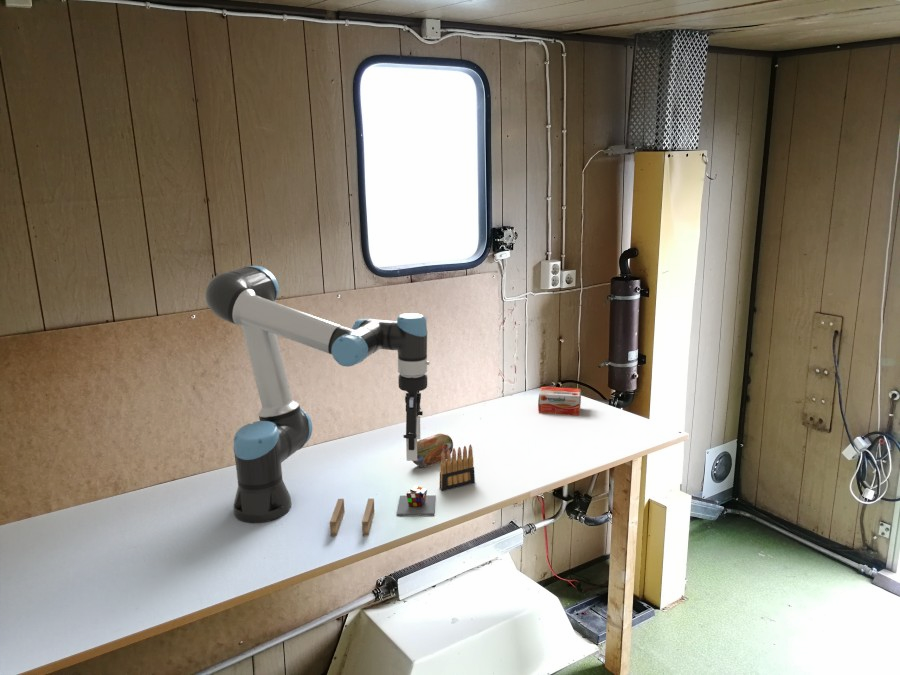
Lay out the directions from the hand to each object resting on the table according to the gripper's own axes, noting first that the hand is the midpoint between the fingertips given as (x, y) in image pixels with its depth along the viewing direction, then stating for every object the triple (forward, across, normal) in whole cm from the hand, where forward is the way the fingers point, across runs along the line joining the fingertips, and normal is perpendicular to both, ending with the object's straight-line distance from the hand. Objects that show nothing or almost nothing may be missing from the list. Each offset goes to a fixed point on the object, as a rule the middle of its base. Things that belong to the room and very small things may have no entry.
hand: (413, 449), depth 183 cm
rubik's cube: (+16, 0, -1) cm, 16 cm away
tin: (+17, +28, -4) cm, 33 cm away
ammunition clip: (+17, +12, -12) cm, 24 cm away
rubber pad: (+17, 0, -1) cm, 17 cm away
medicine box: (+17, +71, -49) cm, 88 cm away
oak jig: (+17, -9, +15) cm, 25 cm away
